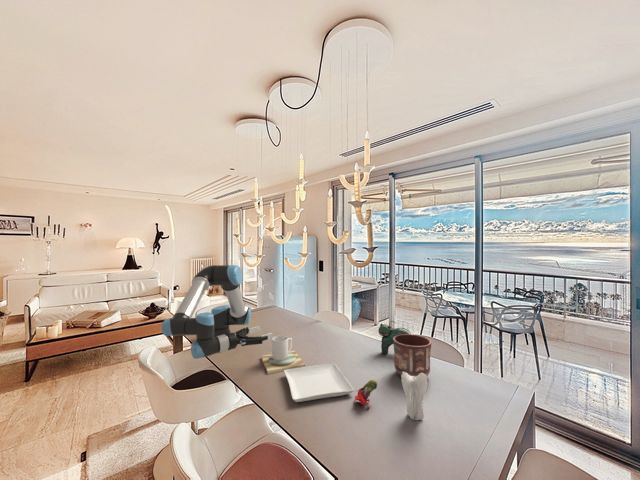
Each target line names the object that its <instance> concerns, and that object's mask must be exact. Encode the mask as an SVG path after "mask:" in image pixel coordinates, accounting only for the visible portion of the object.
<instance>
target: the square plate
mask: <svg viewBox="0 0 640 480" xmlns="http://www.w3.org/2000/svg"><path fill="white" fill-rule="evenodd" d="M283 373H284V376H285V377H286V380H287V383H288V385H289V390H290V395H291V398H292V400H293V401H294V402H295V403H299V402H300V403H302V402H308V401H314V400H319V399H326V398H333V397H340V396H346V395H350V394H352V393H354V391H355V388H354V387H353V386H352V384H351V383H350V382H349V381H348V379H347V377H345V375H344V374H343V373H342V371H341V370H340V368H339V367H338V366H337V364H336V363H325V364H316V365H309V366H305V367H300V368H294V369H287V370H284V371H283Z"/></svg>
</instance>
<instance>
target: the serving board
mask: <svg viewBox="0 0 640 480" xmlns="http://www.w3.org/2000/svg"><path fill="white" fill-rule="evenodd" d="M260 359H261V362H262V363H263V366H264V368H265V372H266V373H267V375H269V374H274V373H275V374H276V373H281V372H284V370H287V369H294V368H300V367H306V363H305V362H304V360H303V359H302V358H301V357H300V356H299V354H298V353H297V352H296V350H290V351H289V352H288V357H287V359H286V360H283V361H275V360H274V359H273V358H272V353H271V354H264V355H261V356H260Z"/></svg>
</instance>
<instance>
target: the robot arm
mask: <svg viewBox="0 0 640 480" xmlns="http://www.w3.org/2000/svg"><path fill="white" fill-rule="evenodd" d="M242 282H243V272H242V269H241V267H240V266H239V265H237V264H235V265H234V264H222V265H219V264H218V265H217V264H216V265H215V264H213V265H208V266H207V267H204V268H202V269H201V270H200V271H198V272H197V273H196V274H195V276H194V277H193V278H192V280H191V286H190V287H189V289H188V290H187V293H186V294H185V296H184V298H183V299H182V300H181V302H180V304H179V306H178V308H177V310H176V312H175V313H174V315H173V316H172V317H170V318H166V319H164V320H163V321H162V324H161V332H162V335H164V336H167V337H168V336H169V337H176V336H196V338H195V339H196V340H195V341H193V342H192V343H191V344H190V353H191V356H192V358H193V359H194V360H197V359H202V358H203V359H204V358H206V357H210V356H213V355H215V354H216V355H217V354H222V353H223V352H226V351H231V350H234V349H236V348H237V346H238V345H240V346H241V347H245V346H253V345H262V344H263V342H265V341H269V340H272V338H273V337H274V333H273V332H269V333H266V334H262V335H260V336H249V335H251V334H255V333H259V332H261V326H260V325H258V326H254V327H250V328H249V327H248V326H246V327H244V328H241V329H239V330H237V331H235V332H231V330H230V326H245V325H249V324H250V322H251V317H252V307H250V306H247V304H246V303H244V298H243V295H242V292H241V289H240V286H241V284H242ZM211 286H220V288H221V290H222V291H224V292H225V295H226V297H227V300H228V303H229V304H224V305H218V306H215V307H213V308H212V309H211V310H210V312H208V311H207V312H200V313H197V315H196V317H193V315H194V313H195V311H196V310H197V308H198V305H199V303H200V301H201V300H202V297H203V295H204V294H205V291H207V290H208V289H209V288H210V287H211Z"/></svg>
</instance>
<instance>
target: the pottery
mask: <svg viewBox="0 0 640 480" xmlns="http://www.w3.org/2000/svg"><path fill="white" fill-rule="evenodd" d="M392 345H393V353H394V354H393V355H394V356H393V359H394V362H393V363H394V369H395V371H396V373H397V374H398V375H399V376H400V377H401V375H402V374H403V373H402V372H405V373H406V372H407V373H408V374H409V375H410V376H414V377H416V376H418V375H419V374H420V373H424V374H425V375H426V376H427V377H428V376H429V375H430V374H431V373H430V372H431V352H432V351H431V350H432V340H431V339H429V338H427V337H424V336H422V335H418V334H412V333H411V334H410V333H409V334H402V335H397V336H395V337H394V338H393V344H392Z"/></svg>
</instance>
